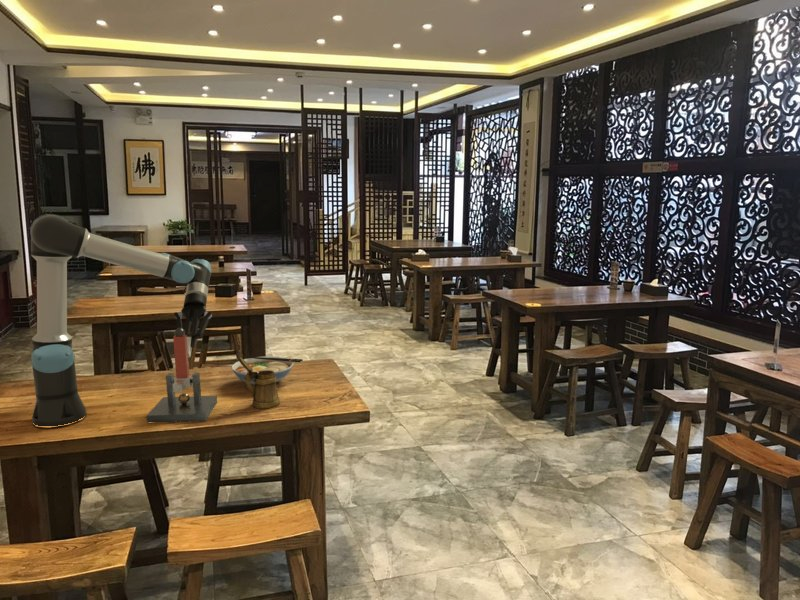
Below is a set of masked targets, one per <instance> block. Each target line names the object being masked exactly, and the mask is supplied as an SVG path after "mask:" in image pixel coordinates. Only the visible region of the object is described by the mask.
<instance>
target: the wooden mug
mask: <svg viewBox="0 0 800 600" xmlns="http://www.w3.org/2000/svg"><path fill="white" fill-rule="evenodd" d="M236 358H237V360H238V361H239V362H240V363H241V364H242V366H243V367H244V368H245V369H246V370H247V371H248V372H247V374H246V377H245V382H244V383H245V386H246V387H247V389H248V391H250V393H251V395H252V405H253V407H254V408H256V409H264V410H265V409H266V408H267V409H271V408H275V407H277V406H279V405H281V401H280V397H279V394H278V388H277V382H276V376H275V375H274V371H271V370H265V371H260V372H258V373H257V371H253V370H252V369H251V368H250V366H249V365H248V364H247V363H246V362H245V361H244V359H245V358H244V359H243V357H241V356H239V355H236ZM253 378H255V379H254V382H255V385H253V384H251V383H250V381H251V380H252V379H253Z"/></svg>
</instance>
